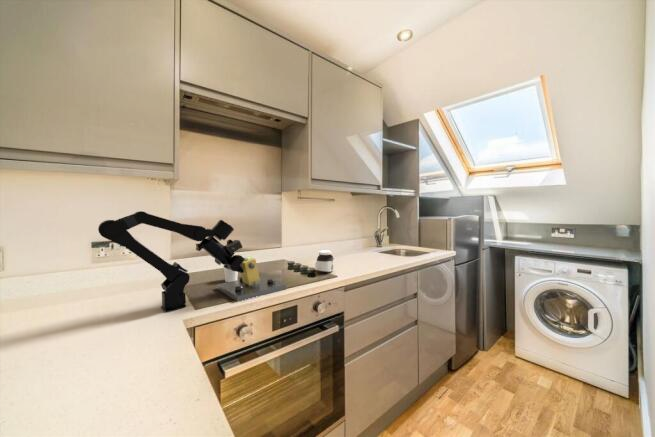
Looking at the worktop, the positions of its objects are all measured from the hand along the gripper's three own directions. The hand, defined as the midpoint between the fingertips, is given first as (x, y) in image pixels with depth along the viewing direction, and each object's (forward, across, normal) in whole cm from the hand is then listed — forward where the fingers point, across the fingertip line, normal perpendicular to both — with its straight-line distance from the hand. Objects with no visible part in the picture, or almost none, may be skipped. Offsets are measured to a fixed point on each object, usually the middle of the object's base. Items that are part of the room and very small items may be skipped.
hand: (242, 271), depth 109 cm
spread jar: (+39, +1, -28) cm, 48 cm away
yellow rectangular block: (+6, 0, +1) cm, 6 cm away
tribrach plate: (+9, 0, +3) cm, 9 cm away
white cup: (+8, +20, +4) cm, 22 cm away
